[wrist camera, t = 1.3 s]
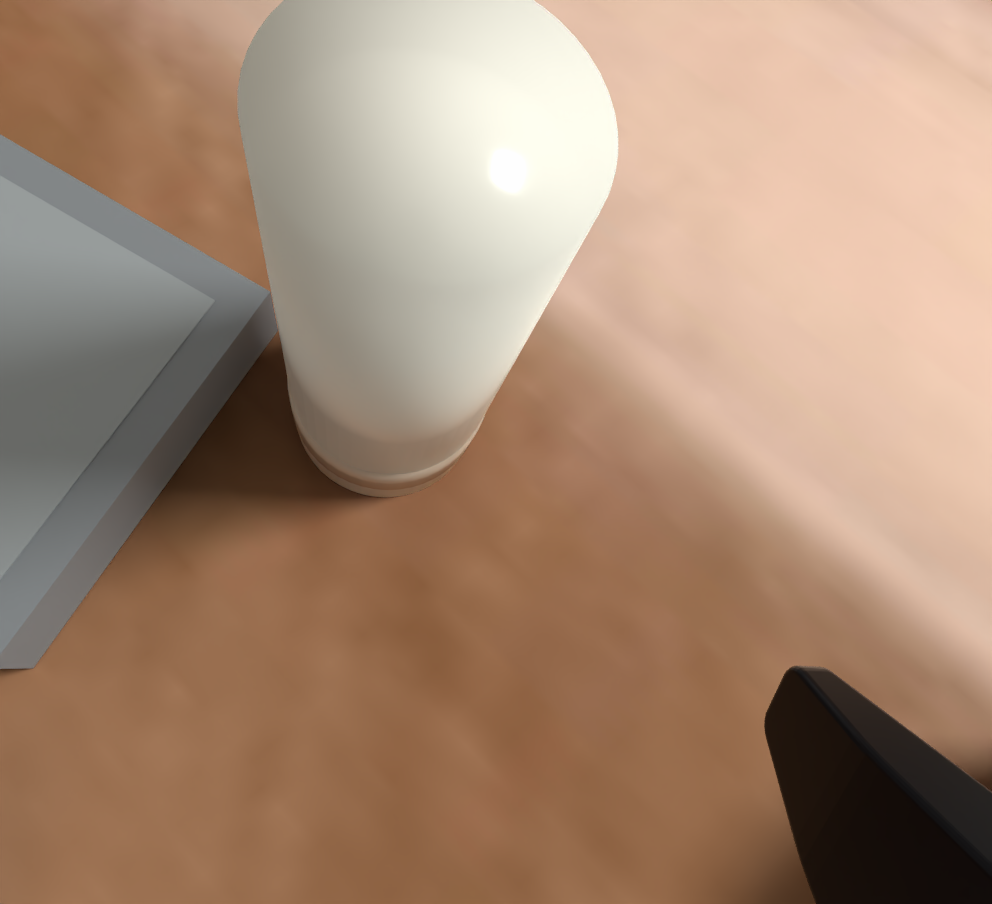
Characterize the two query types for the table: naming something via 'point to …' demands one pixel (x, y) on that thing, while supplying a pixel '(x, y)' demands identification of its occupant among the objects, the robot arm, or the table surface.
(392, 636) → the table surface
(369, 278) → the white cylinder
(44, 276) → the base
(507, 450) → the table surface
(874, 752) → the robot arm
